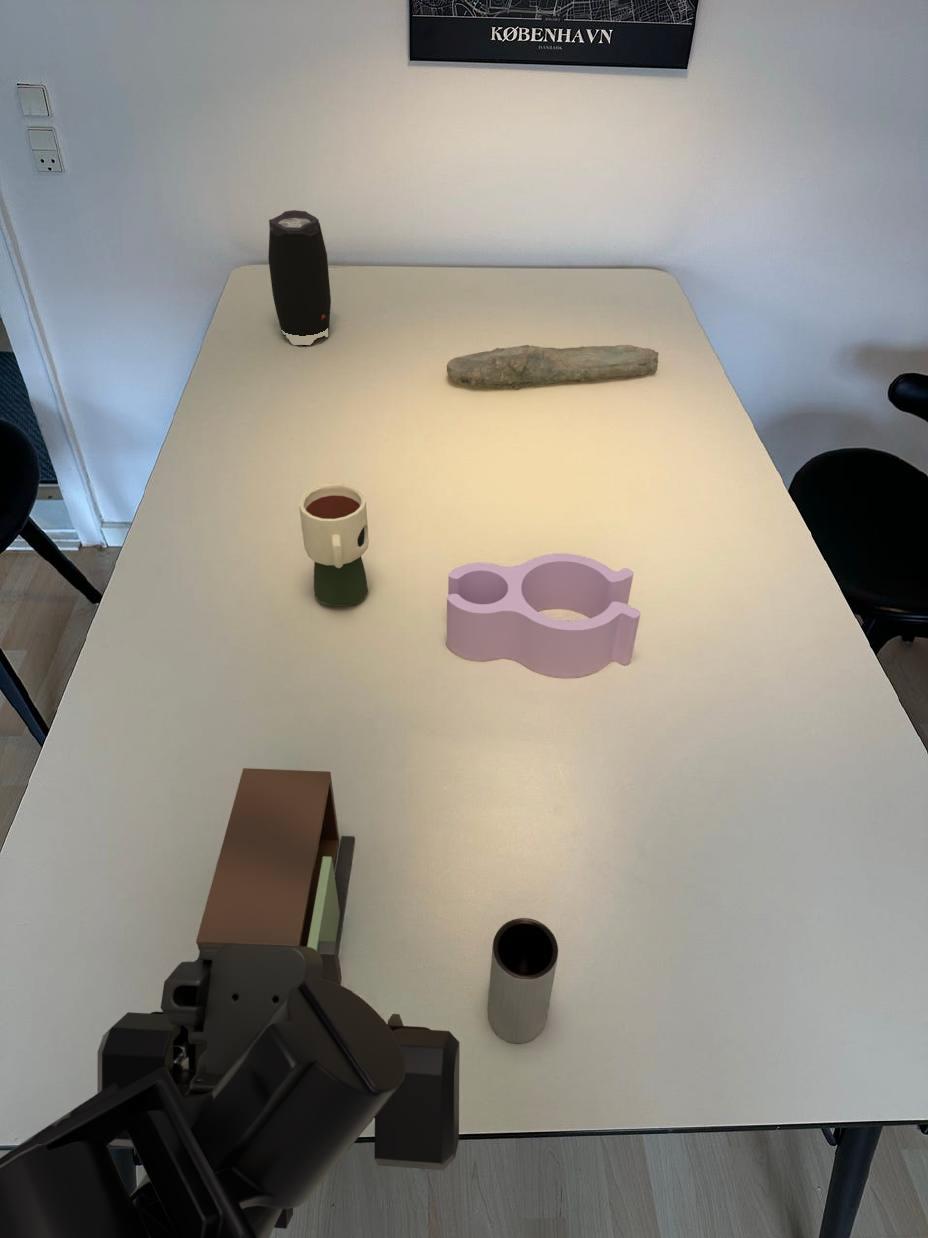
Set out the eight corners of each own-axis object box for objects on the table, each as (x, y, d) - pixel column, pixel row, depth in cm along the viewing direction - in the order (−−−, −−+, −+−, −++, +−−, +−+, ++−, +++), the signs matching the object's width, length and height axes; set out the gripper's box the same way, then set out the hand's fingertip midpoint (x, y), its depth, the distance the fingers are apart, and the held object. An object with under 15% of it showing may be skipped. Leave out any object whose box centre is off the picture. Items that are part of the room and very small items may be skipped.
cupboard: (330, 1009, 69) (319, 947, 62) (218, 1004, 69) (195, 941, 63) (355, 839, 80) (347, 771, 74) (259, 835, 80) (243, 767, 74)
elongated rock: (665, 389, 145) (644, 364, 153) (672, 357, 142) (650, 333, 149) (452, 394, 139) (441, 368, 146) (454, 362, 135) (442, 336, 143)
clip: (444, 673, 95) (445, 625, 91) (449, 596, 105) (450, 549, 100) (633, 680, 95) (643, 632, 91) (622, 602, 104) (630, 555, 100)
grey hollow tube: (548, 1045, 67) (560, 980, 60) (487, 1043, 67) (493, 979, 60) (544, 985, 71) (556, 917, 64) (487, 984, 71) (492, 916, 64)
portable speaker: (341, 340, 154) (332, 221, 140) (291, 352, 150) (276, 231, 137) (320, 321, 159) (309, 205, 146) (270, 333, 155) (255, 214, 142)
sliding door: (342, 1005, 68) (333, 951, 63) (317, 1004, 68) (306, 950, 63) (354, 914, 74) (347, 857, 68) (331, 913, 74) (322, 856, 68)
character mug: (376, 622, 101) (370, 528, 93) (312, 628, 100) (300, 534, 92) (368, 561, 109) (361, 470, 100) (308, 567, 108) (297, 475, 99)
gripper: (437, 1004, 39) (474, 892, 54) (28, 982, 41) (176, 880, 56) (436, 1263, 39) (473, 1077, 54) (27, 1227, 41) (176, 1058, 56)
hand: (322, 1017), depth 55 cm, fingers open, 9 cm apart
